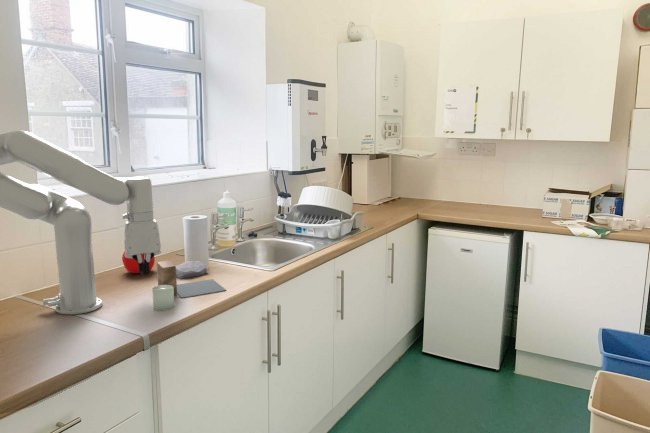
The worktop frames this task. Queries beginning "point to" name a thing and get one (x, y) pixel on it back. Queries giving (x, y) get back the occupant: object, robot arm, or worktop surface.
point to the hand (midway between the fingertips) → (144, 273)
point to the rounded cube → (163, 297)
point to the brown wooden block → (167, 274)
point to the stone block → (190, 269)
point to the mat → (198, 288)
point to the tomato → (135, 263)
